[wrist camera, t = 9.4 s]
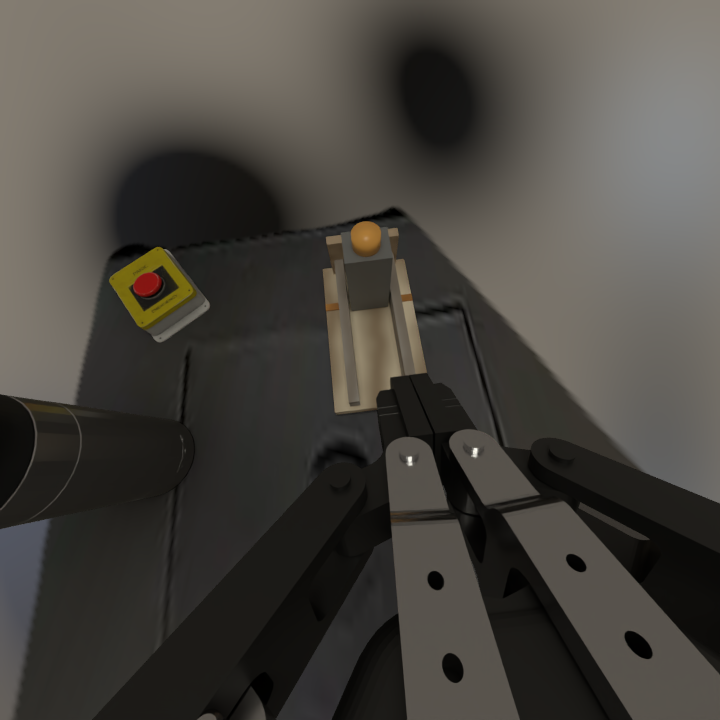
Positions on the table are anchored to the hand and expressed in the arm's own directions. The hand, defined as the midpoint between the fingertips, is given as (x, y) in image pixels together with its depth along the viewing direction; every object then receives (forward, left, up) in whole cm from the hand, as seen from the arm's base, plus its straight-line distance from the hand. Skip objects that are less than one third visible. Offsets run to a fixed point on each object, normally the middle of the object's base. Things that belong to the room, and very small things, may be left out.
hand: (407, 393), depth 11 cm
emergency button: (-31, +25, -25) cm, 47 cm away
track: (0, +13, -24) cm, 28 cm away
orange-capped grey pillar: (0, +18, -22) cm, 28 cm away
